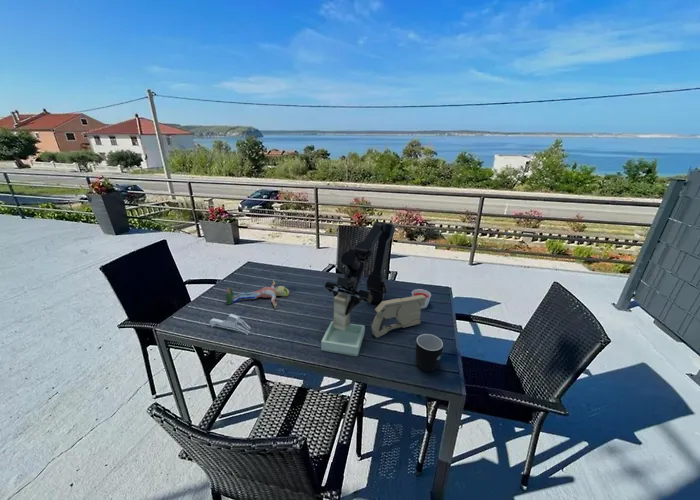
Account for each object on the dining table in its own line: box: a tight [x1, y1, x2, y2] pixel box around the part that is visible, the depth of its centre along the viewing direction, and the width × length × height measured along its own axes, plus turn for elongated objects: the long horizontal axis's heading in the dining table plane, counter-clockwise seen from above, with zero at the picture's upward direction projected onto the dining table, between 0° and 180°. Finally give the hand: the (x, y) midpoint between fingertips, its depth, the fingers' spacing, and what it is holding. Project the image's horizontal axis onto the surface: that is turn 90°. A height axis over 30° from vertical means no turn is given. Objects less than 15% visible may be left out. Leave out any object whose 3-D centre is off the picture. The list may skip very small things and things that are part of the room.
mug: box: [415, 333, 444, 372], centre depth 105 cm, size 12×9×10 cm
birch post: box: [333, 293, 351, 331], centre depth 113 cm, size 4×4×13 cm
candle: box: [411, 288, 432, 309], centre depth 143 cm, size 9×9×6 cm
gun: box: [370, 295, 426, 339], centre depth 123 cm, size 24×3×15 cm, turn 118°
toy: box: [225, 279, 290, 309], centre depth 147 cm, size 28×7×30 cm
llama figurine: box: [208, 313, 252, 336], centre depth 122 cm, size 2×11×18 cm
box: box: [320, 320, 366, 357], centre depth 116 cm, size 14×14×4 cm
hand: (340, 313), depth 111 cm, fingers closed on birch post, 4 cm apart
